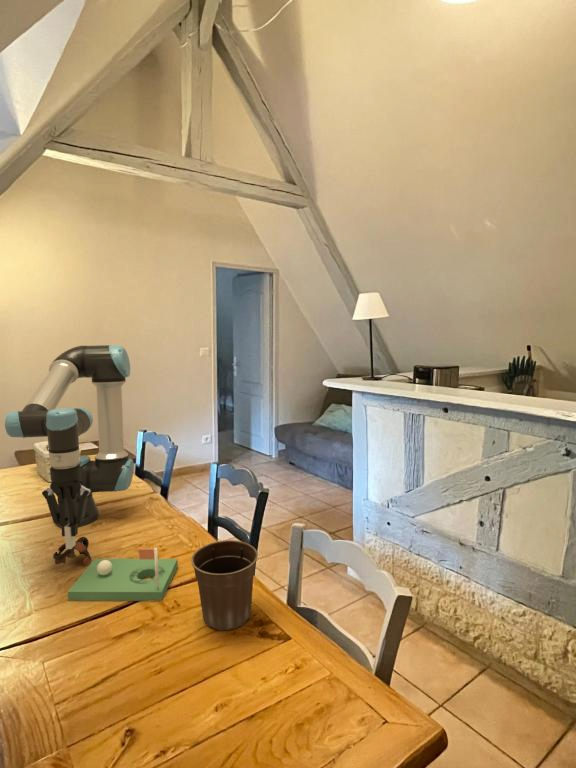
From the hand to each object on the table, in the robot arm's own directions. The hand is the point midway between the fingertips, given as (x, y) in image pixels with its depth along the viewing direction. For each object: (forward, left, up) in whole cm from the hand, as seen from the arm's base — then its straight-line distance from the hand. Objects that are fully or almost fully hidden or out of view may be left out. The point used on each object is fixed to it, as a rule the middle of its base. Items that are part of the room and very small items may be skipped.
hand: (70, 546), depth 129 cm
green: (0, +15, -11) cm, 19 cm away
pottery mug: (-11, -5, -11) cm, 17 cm away
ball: (0, +9, -7) cm, 11 cm away
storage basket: (-92, -51, -11) cm, 106 cm away
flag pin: (+7, +24, -11) cm, 27 cm away
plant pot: (+14, +45, -11) cm, 49 cm away
